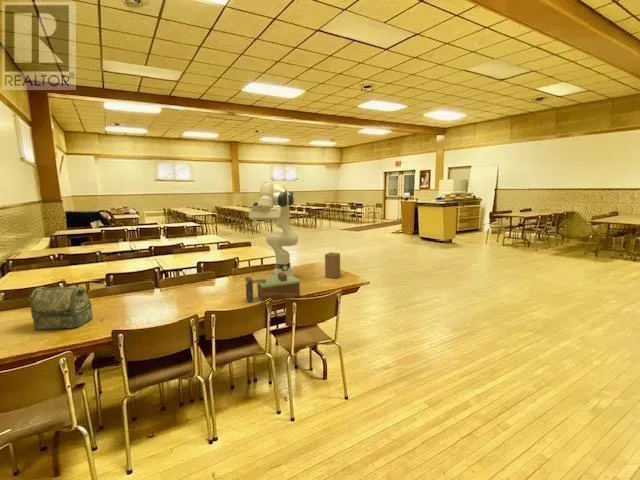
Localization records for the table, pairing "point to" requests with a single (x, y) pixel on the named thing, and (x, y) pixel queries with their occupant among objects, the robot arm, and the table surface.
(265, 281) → the bolt
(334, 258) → the wooden block
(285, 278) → the lid
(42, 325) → the lunch bag
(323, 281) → the table surface
